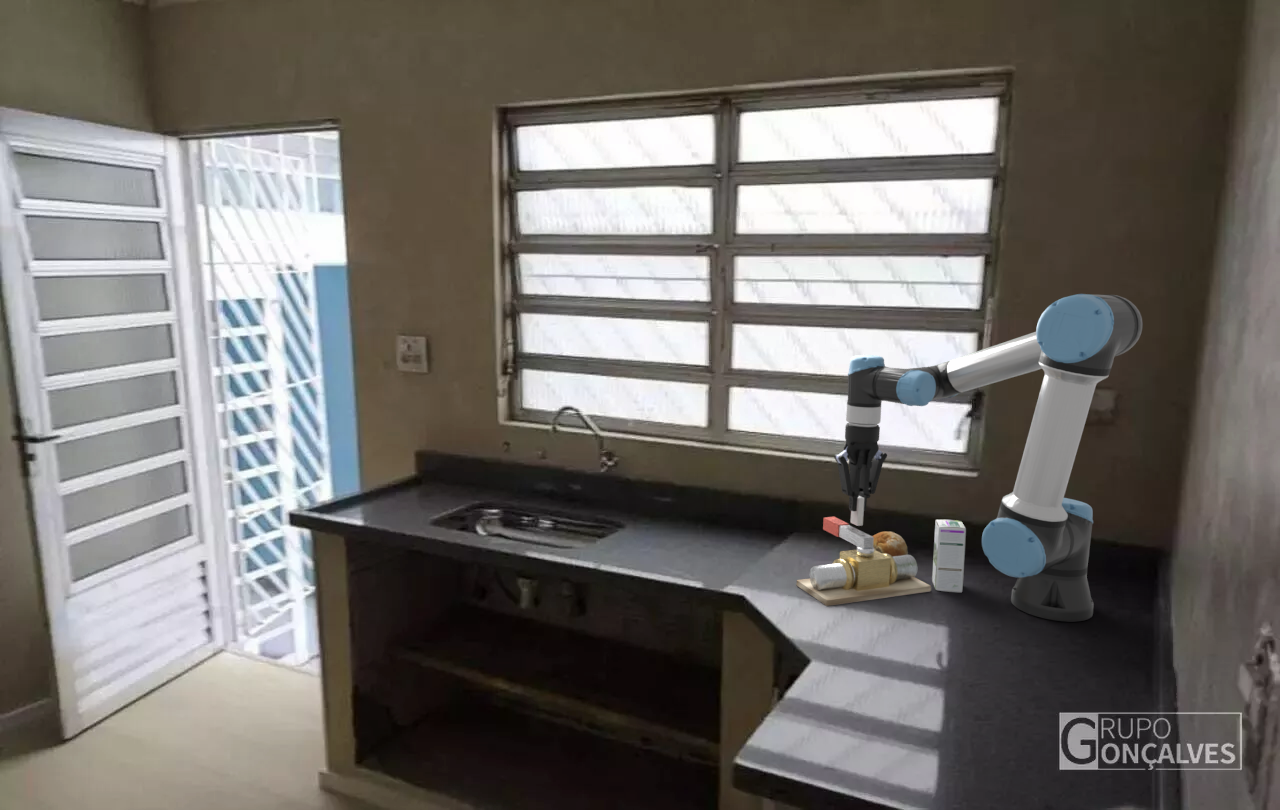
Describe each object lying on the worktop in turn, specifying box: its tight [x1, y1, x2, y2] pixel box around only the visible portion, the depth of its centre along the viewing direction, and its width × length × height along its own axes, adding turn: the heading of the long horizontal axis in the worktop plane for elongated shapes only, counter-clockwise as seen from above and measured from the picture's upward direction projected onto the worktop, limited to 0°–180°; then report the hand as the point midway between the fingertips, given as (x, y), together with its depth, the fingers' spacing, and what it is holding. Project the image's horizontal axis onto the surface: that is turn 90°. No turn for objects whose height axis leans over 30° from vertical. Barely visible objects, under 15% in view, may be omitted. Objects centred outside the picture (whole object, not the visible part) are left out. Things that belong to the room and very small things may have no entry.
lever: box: [822, 516, 874, 557], centre depth 183 cm, size 16×4×4 cm, turn 20°
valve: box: [809, 549, 918, 591], centre depth 178 cm, size 24×7×7 cm, turn 110°
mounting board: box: [795, 576, 932, 607], centre depth 179 cm, size 12×26×1 cm, turn 110°
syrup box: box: [931, 519, 967, 593], centre depth 179 cm, size 6×6×14 cm
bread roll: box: [871, 530, 909, 557], centre depth 199 cm, size 10×10×8 cm
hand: (856, 523), depth 190 cm, fingers closed
